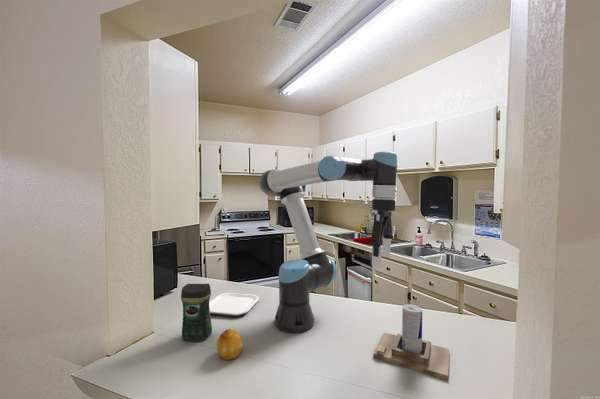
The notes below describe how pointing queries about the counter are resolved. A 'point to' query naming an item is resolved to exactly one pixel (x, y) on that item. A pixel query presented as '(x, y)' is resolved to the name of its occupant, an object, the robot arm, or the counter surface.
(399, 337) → the socket plate
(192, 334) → the coffee jar
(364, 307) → the counter surface
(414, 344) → the beverage can
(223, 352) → the fruit
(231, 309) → the plate
